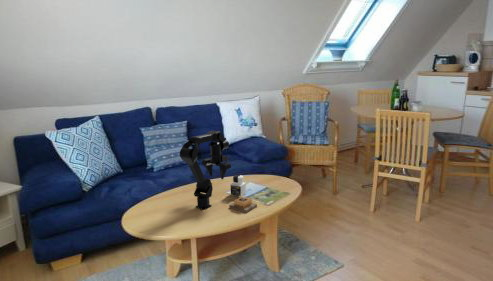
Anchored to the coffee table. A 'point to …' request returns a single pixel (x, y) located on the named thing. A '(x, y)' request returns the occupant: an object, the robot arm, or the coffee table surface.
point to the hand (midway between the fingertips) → (216, 177)
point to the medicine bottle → (238, 186)
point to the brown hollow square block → (243, 204)
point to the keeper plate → (243, 208)
